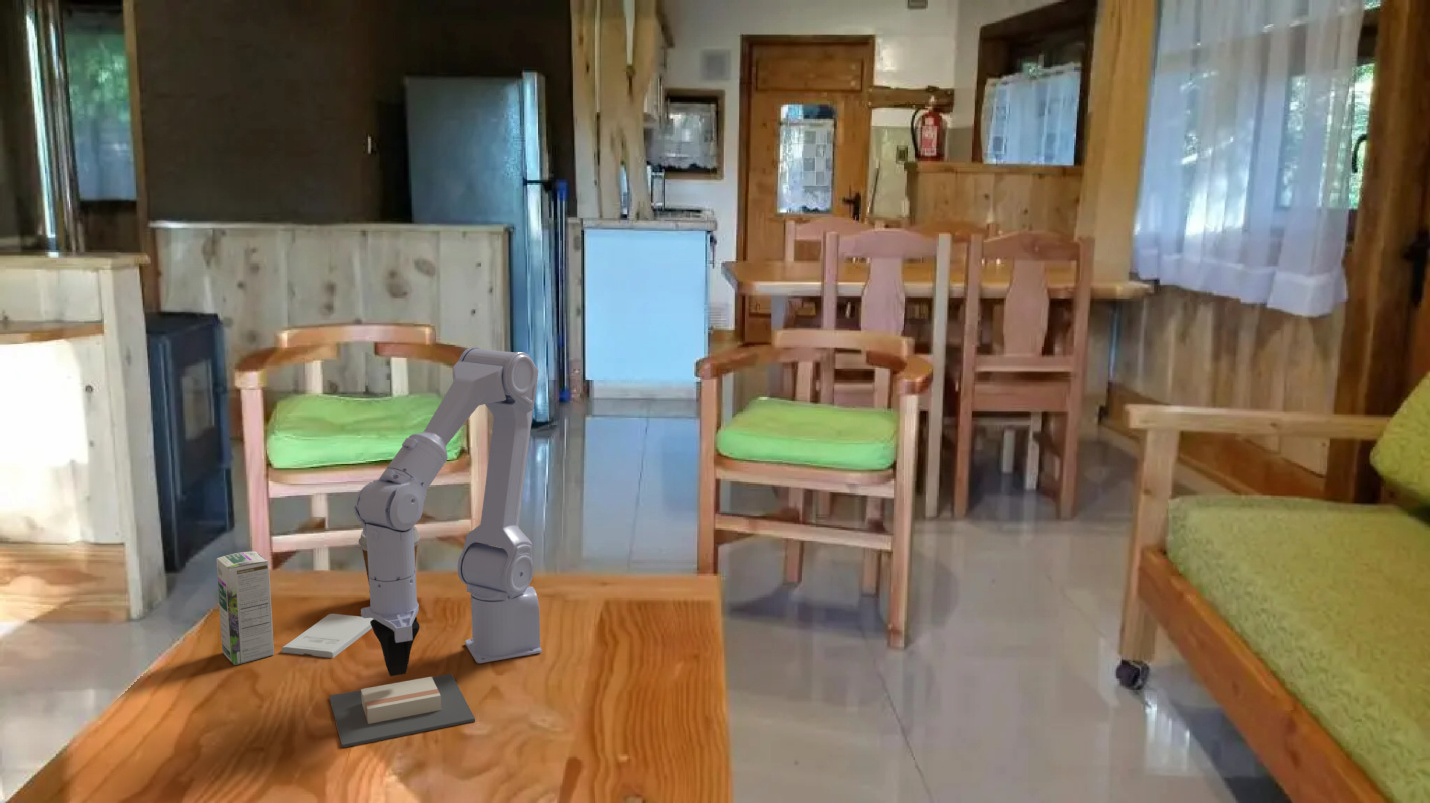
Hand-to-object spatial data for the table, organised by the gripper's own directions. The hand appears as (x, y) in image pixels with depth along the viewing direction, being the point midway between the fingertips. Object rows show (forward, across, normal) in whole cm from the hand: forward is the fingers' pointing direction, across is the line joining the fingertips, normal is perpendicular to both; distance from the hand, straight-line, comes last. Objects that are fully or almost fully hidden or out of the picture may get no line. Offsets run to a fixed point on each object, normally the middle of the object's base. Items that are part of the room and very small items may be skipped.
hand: (397, 673), depth 139 cm
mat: (+4, +2, 0) cm, 5 cm away
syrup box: (+5, -24, -17) cm, 30 cm away
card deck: (+3, -2, 0) cm, 3 cm away
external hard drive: (+5, -26, -6) cm, 27 cm away
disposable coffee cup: (+5, -36, +5) cm, 37 cm away
